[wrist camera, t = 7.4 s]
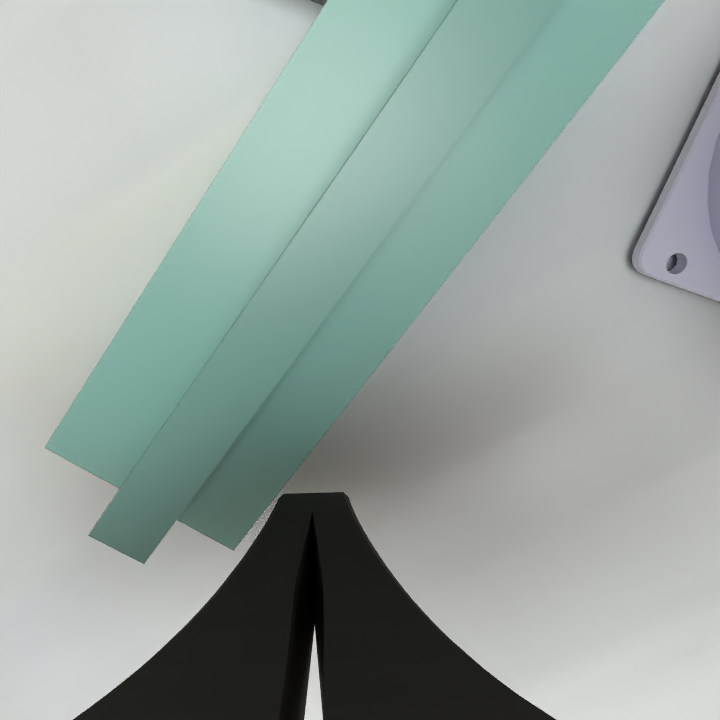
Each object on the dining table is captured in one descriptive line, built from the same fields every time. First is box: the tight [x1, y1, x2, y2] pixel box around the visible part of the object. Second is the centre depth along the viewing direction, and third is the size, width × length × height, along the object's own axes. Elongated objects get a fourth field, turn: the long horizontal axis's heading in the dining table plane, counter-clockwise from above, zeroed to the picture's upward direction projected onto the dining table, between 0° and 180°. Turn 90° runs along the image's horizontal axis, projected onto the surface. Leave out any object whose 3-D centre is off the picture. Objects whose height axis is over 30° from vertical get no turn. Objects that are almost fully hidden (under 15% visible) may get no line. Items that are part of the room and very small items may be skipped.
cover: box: [45, 0, 665, 564], centre depth 10 cm, size 16×5×2 cm, turn 143°
